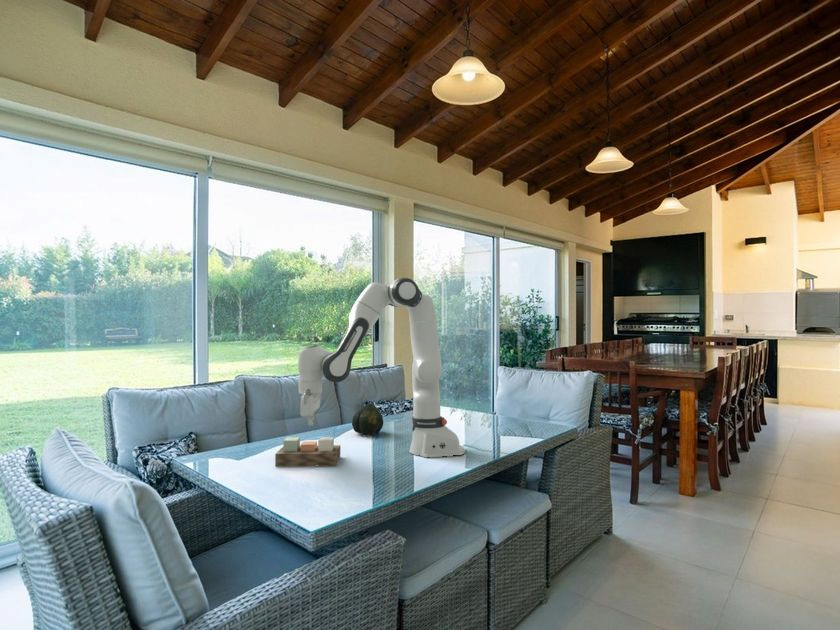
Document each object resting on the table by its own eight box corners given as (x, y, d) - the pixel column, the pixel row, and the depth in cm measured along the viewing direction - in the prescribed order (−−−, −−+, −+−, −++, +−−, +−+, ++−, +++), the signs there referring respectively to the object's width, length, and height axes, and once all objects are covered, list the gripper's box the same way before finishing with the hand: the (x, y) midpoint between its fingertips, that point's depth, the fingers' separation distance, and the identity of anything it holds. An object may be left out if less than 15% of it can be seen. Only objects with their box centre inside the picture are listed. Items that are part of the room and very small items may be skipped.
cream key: (333, 450, 188) (333, 437, 188) (331, 453, 183) (331, 440, 183) (320, 450, 188) (320, 437, 188) (318, 453, 183) (318, 440, 183)
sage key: (299, 450, 188) (299, 437, 188) (296, 453, 183) (296, 440, 183) (286, 450, 188) (286, 437, 188) (283, 454, 183) (283, 440, 183)
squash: (348, 426, 221) (369, 400, 224) (345, 421, 236) (365, 397, 239) (371, 446, 223) (392, 420, 226) (367, 440, 238) (387, 415, 241)
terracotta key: (316, 454, 188) (316, 441, 188) (314, 458, 183) (314, 444, 183) (303, 454, 188) (303, 441, 188) (300, 458, 183) (300, 444, 183)
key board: (340, 456, 192) (340, 445, 192) (335, 465, 180) (335, 453, 180) (283, 457, 192) (284, 445, 192) (275, 466, 180) (275, 453, 180)
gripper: (313, 391, 176) (313, 430, 176) (323, 384, 197) (323, 418, 197) (295, 392, 176) (296, 430, 176) (307, 384, 197) (308, 419, 197)
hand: (311, 424), depth 187 cm, fingers closed
